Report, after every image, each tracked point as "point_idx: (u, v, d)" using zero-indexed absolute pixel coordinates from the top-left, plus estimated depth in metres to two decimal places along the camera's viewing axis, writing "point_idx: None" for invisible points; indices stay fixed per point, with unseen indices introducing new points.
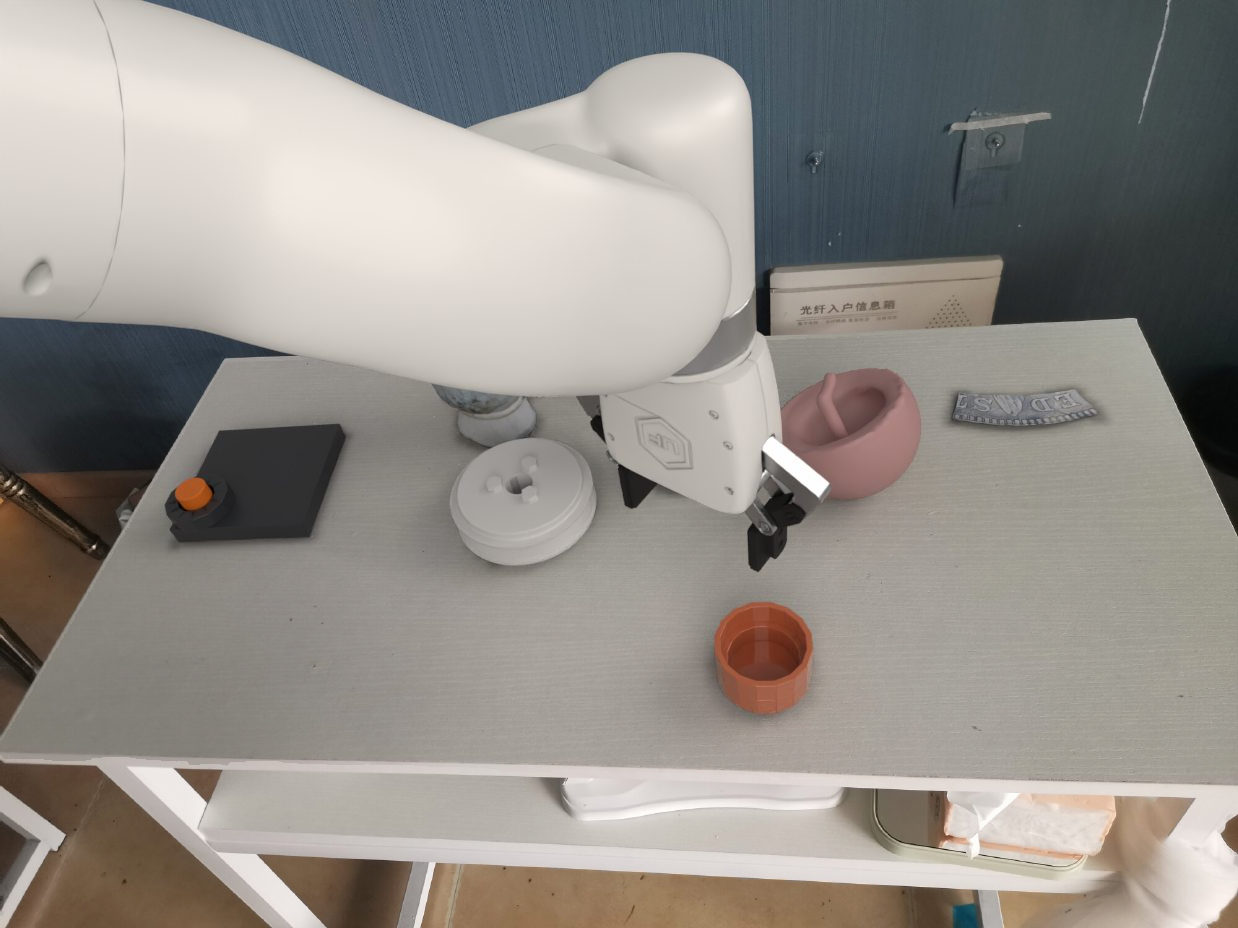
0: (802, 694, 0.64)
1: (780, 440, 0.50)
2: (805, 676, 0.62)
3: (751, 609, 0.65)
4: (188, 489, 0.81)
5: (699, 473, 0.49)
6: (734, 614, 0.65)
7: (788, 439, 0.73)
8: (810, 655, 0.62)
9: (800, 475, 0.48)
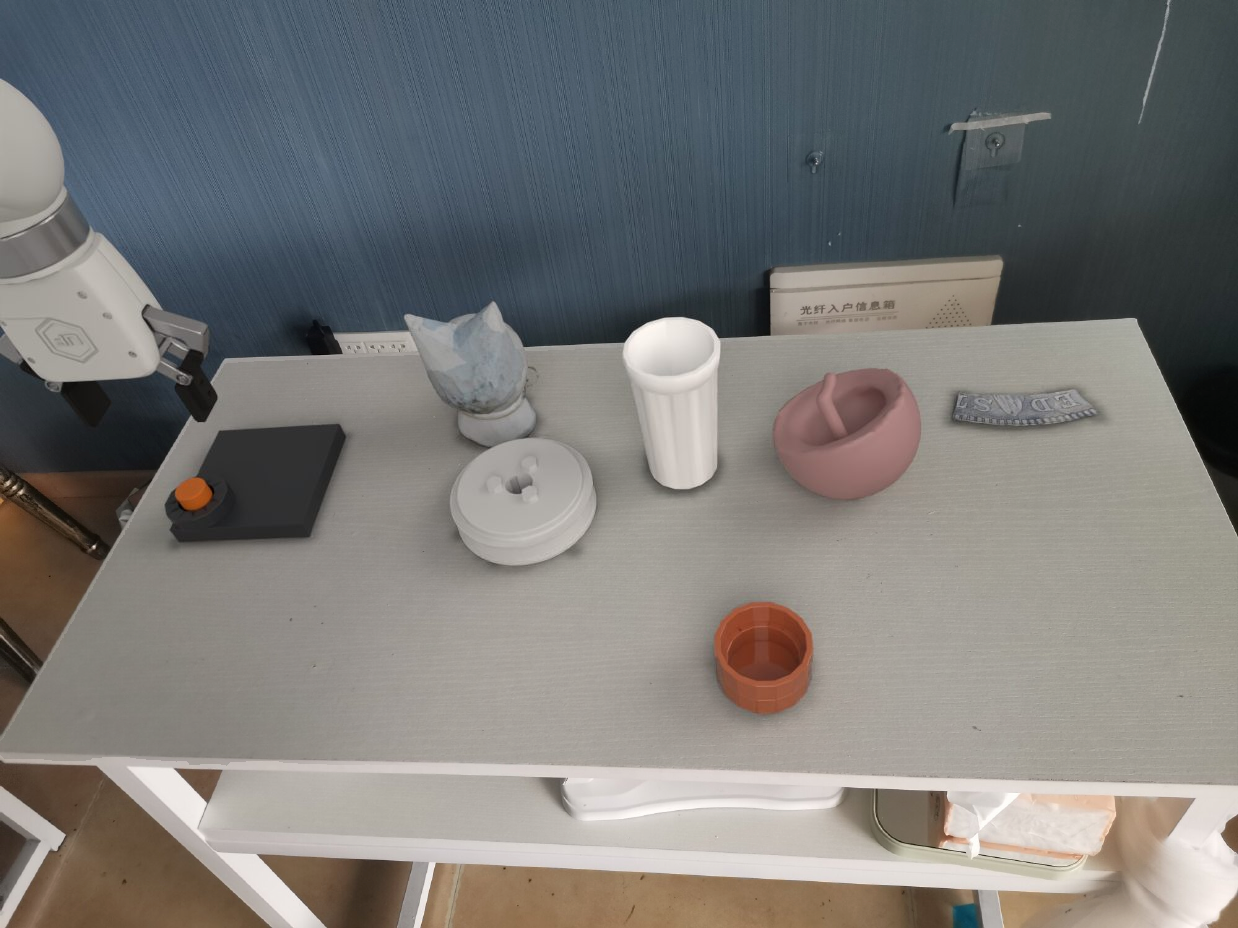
0: (802, 694, 0.64)
1: None
2: (805, 676, 0.62)
3: (751, 609, 0.65)
4: (188, 489, 0.81)
5: (105, 351, 0.65)
6: (734, 614, 0.65)
7: (788, 439, 0.73)
8: (810, 655, 0.62)
9: (179, 324, 0.66)
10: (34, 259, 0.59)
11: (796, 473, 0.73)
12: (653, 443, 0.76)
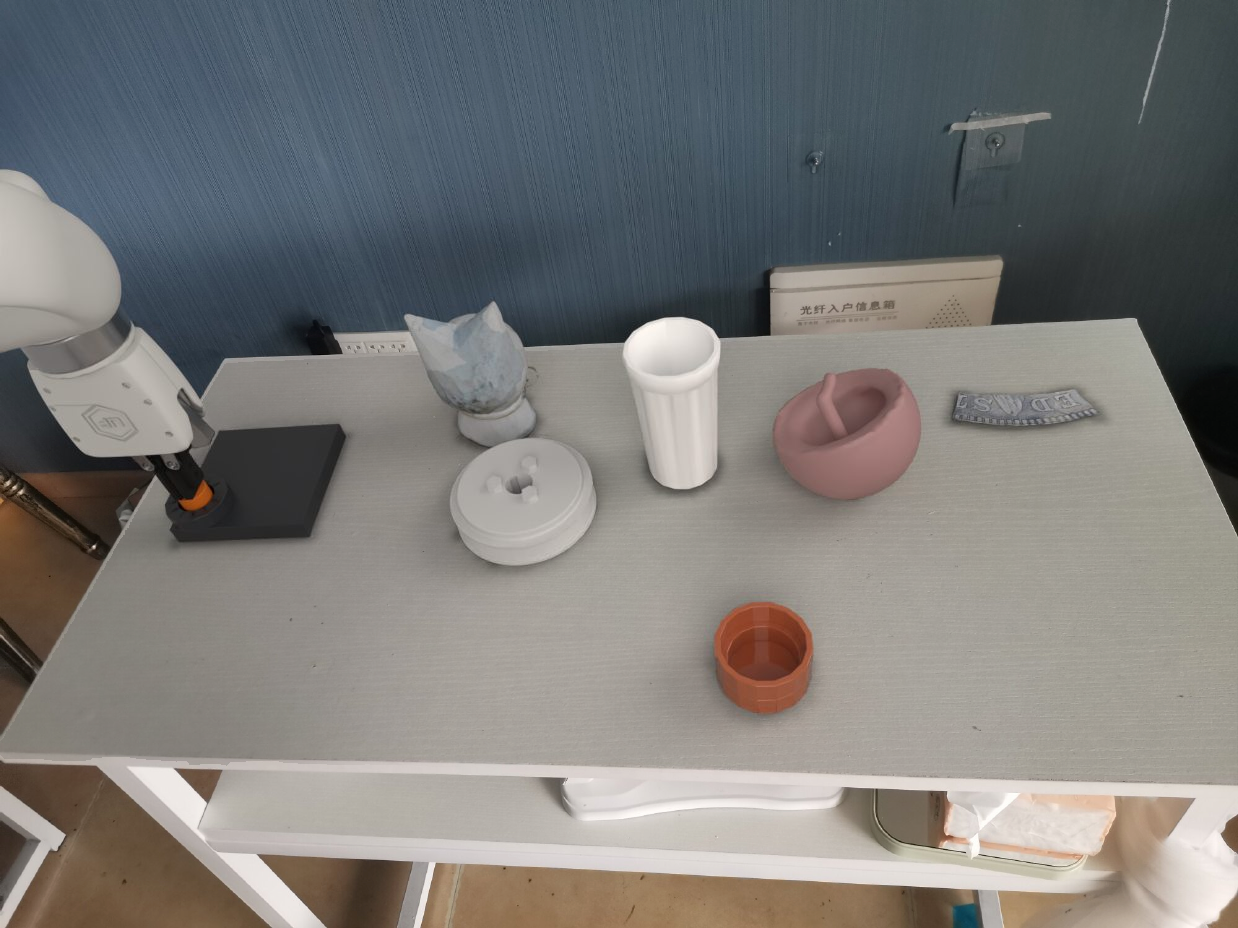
0: (802, 694, 0.64)
1: (193, 392, 0.74)
2: (805, 676, 0.62)
3: (751, 609, 0.65)
4: None
5: (144, 432, 0.72)
6: (734, 614, 0.65)
7: (788, 439, 0.73)
8: (810, 655, 0.62)
9: (199, 426, 0.75)
10: (85, 357, 0.66)
11: (796, 473, 0.73)
12: (653, 443, 0.76)
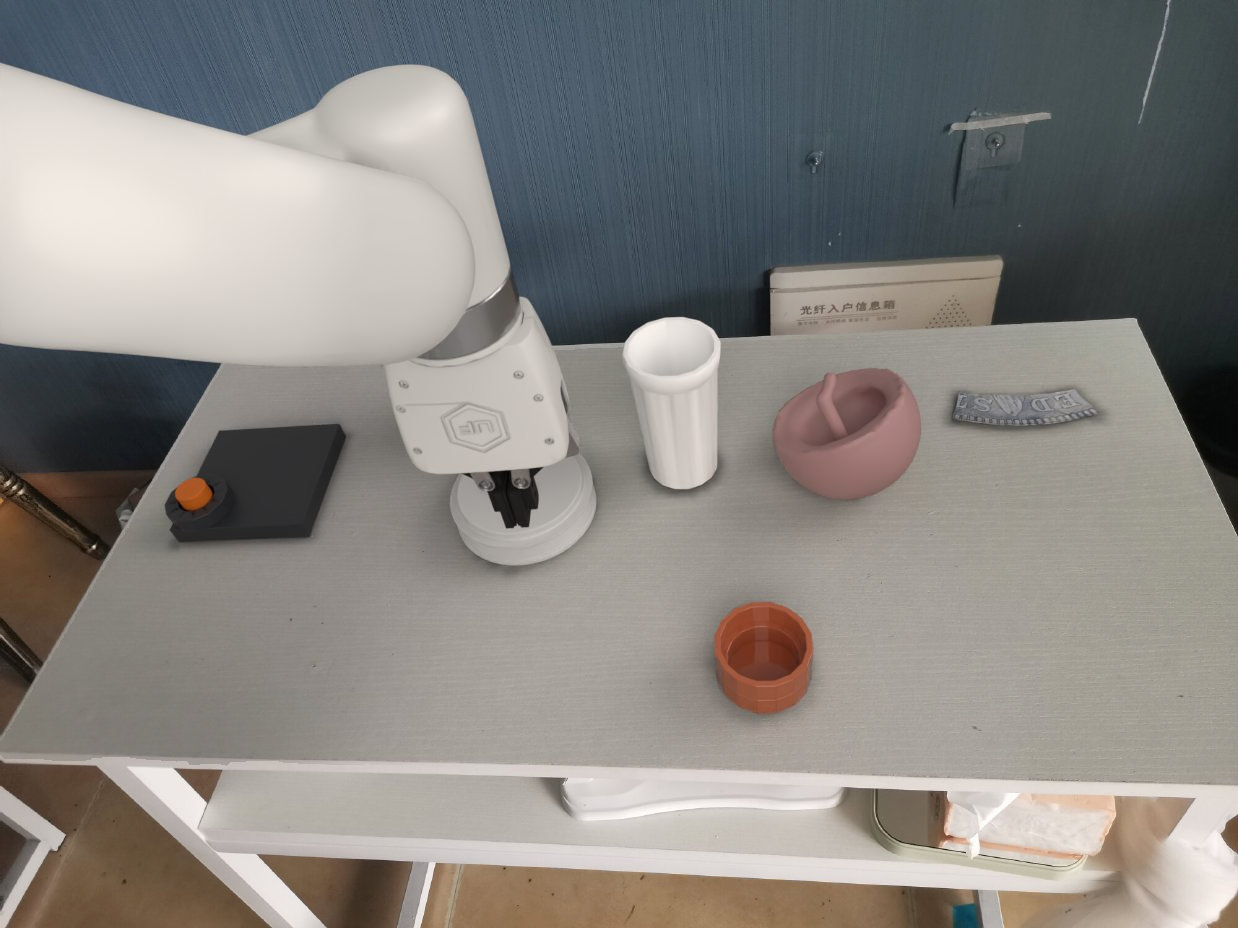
0: (802, 694, 0.64)
1: (565, 385, 0.56)
2: (805, 676, 0.62)
3: (751, 609, 0.65)
4: (188, 489, 0.81)
5: (518, 439, 0.53)
6: (734, 614, 0.65)
7: (788, 439, 0.73)
8: (810, 655, 0.62)
9: (570, 431, 0.56)
10: (483, 335, 0.47)
11: (796, 473, 0.73)
12: (653, 443, 0.76)
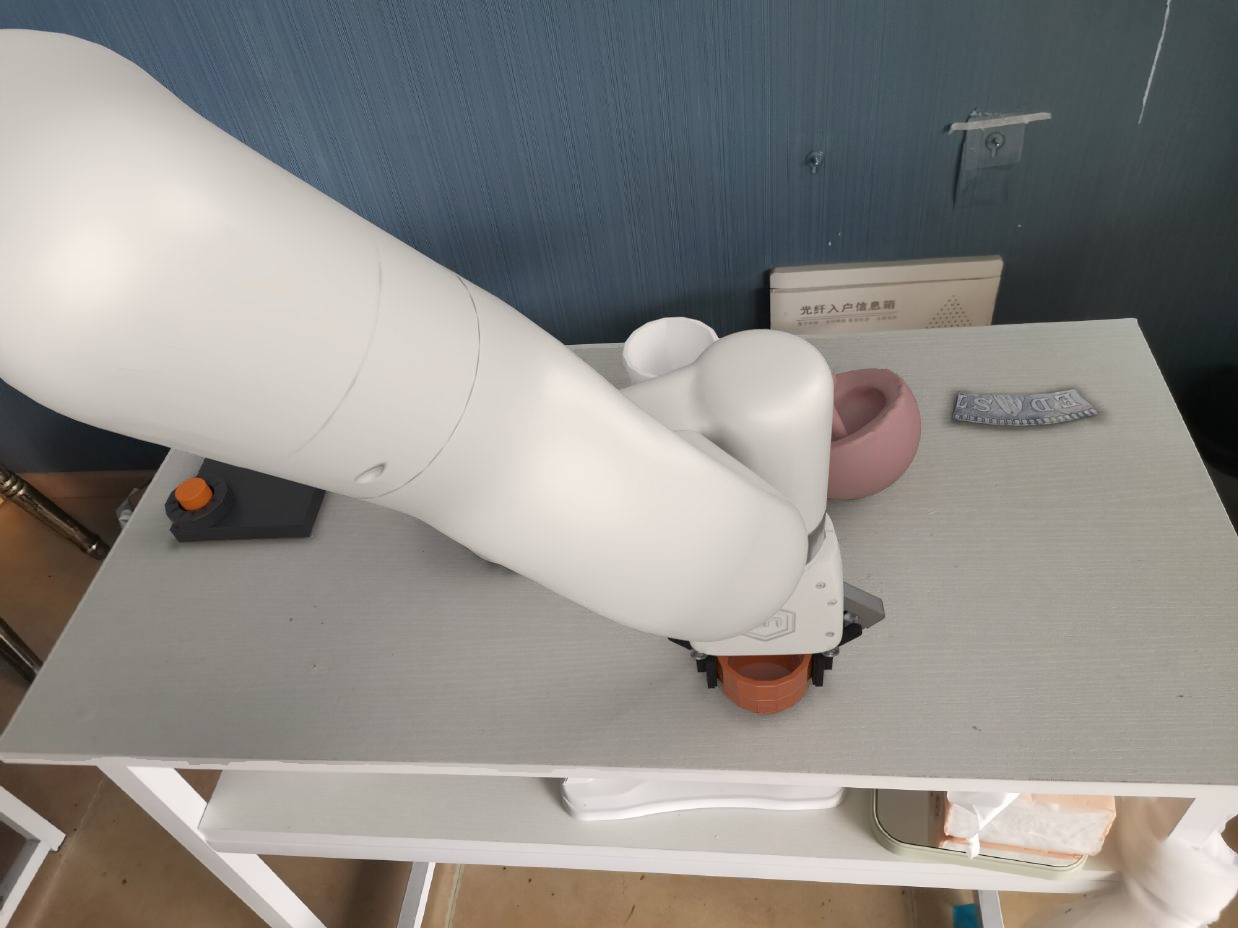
0: (802, 694, 0.64)
1: None
2: (805, 676, 0.62)
3: None
4: (188, 489, 0.81)
5: (801, 632, 0.57)
6: None
7: None
8: (810, 655, 0.62)
9: (867, 602, 0.58)
10: None
11: None
12: None
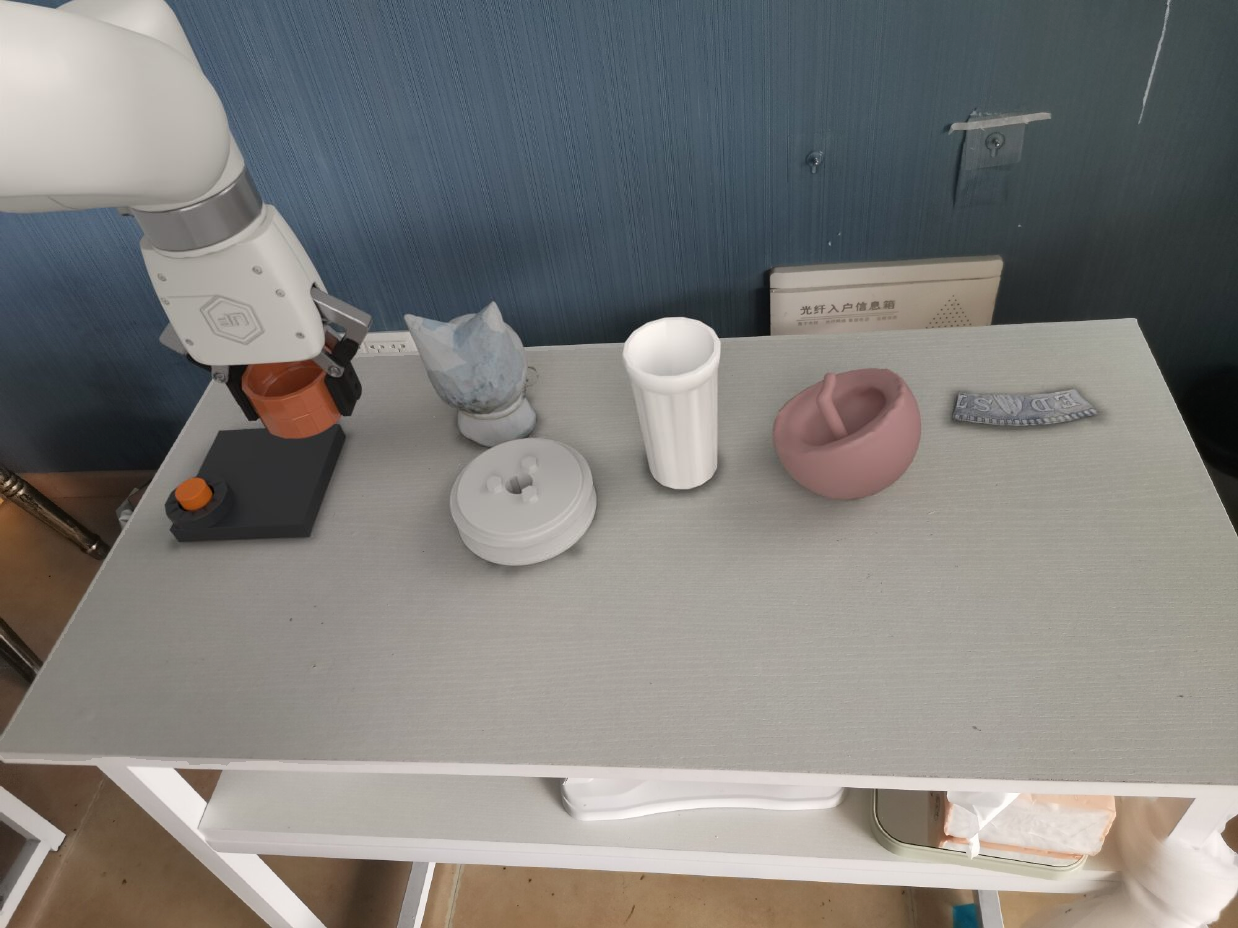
0: (328, 421, 0.68)
1: (324, 289, 0.63)
2: (319, 398, 0.66)
3: None
4: (188, 489, 0.81)
5: (271, 332, 0.61)
6: None
7: (788, 439, 0.73)
8: (322, 377, 0.66)
9: (347, 312, 0.62)
10: (214, 231, 0.55)
11: (796, 473, 0.73)
12: (653, 443, 0.76)
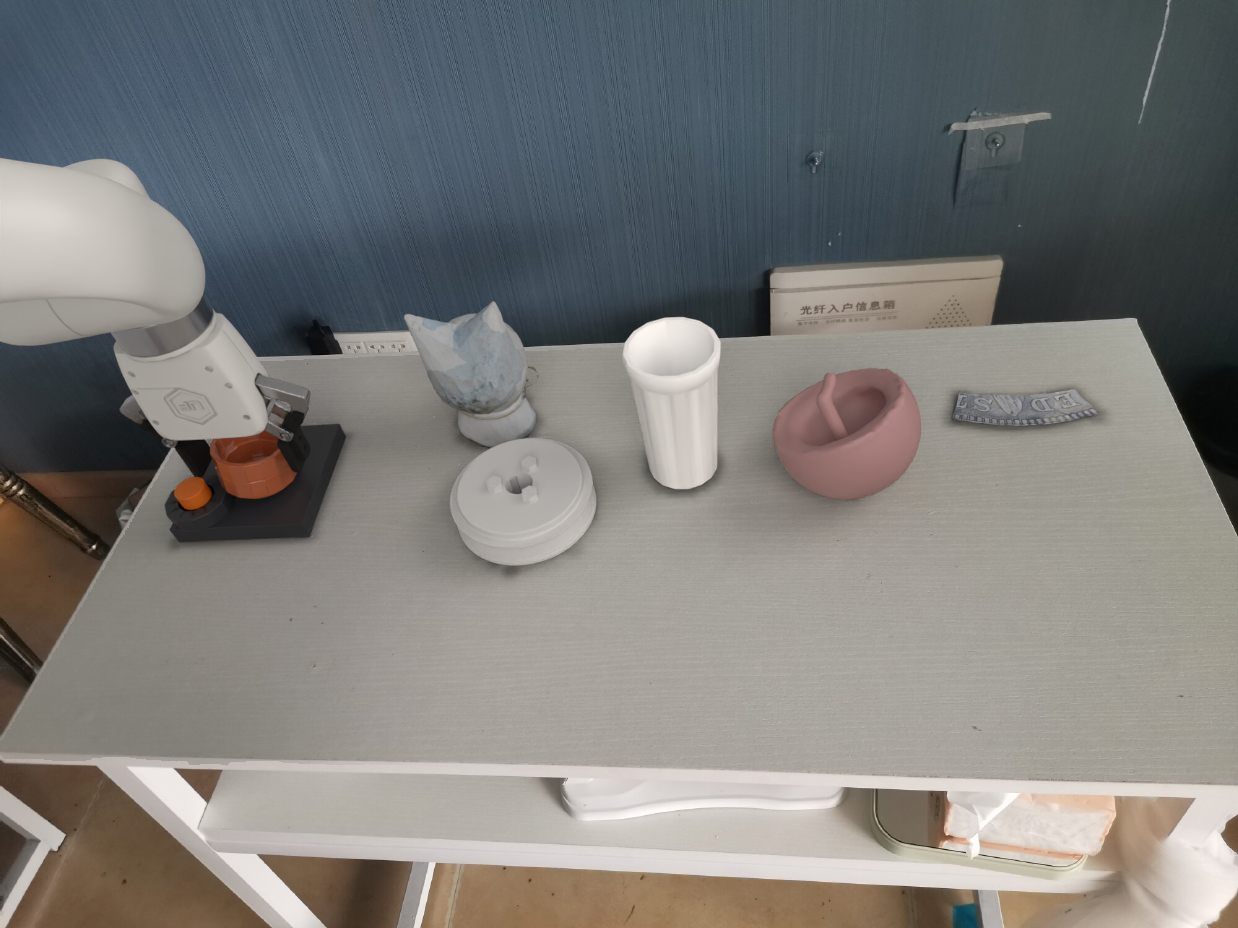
0: (278, 487, 0.82)
1: None
2: (275, 468, 0.81)
3: None
4: (187, 488, 0.81)
5: (223, 415, 0.74)
6: None
7: (788, 439, 0.73)
8: (280, 451, 0.80)
9: (286, 389, 0.75)
10: (172, 341, 0.68)
11: (796, 473, 0.73)
12: (653, 443, 0.76)
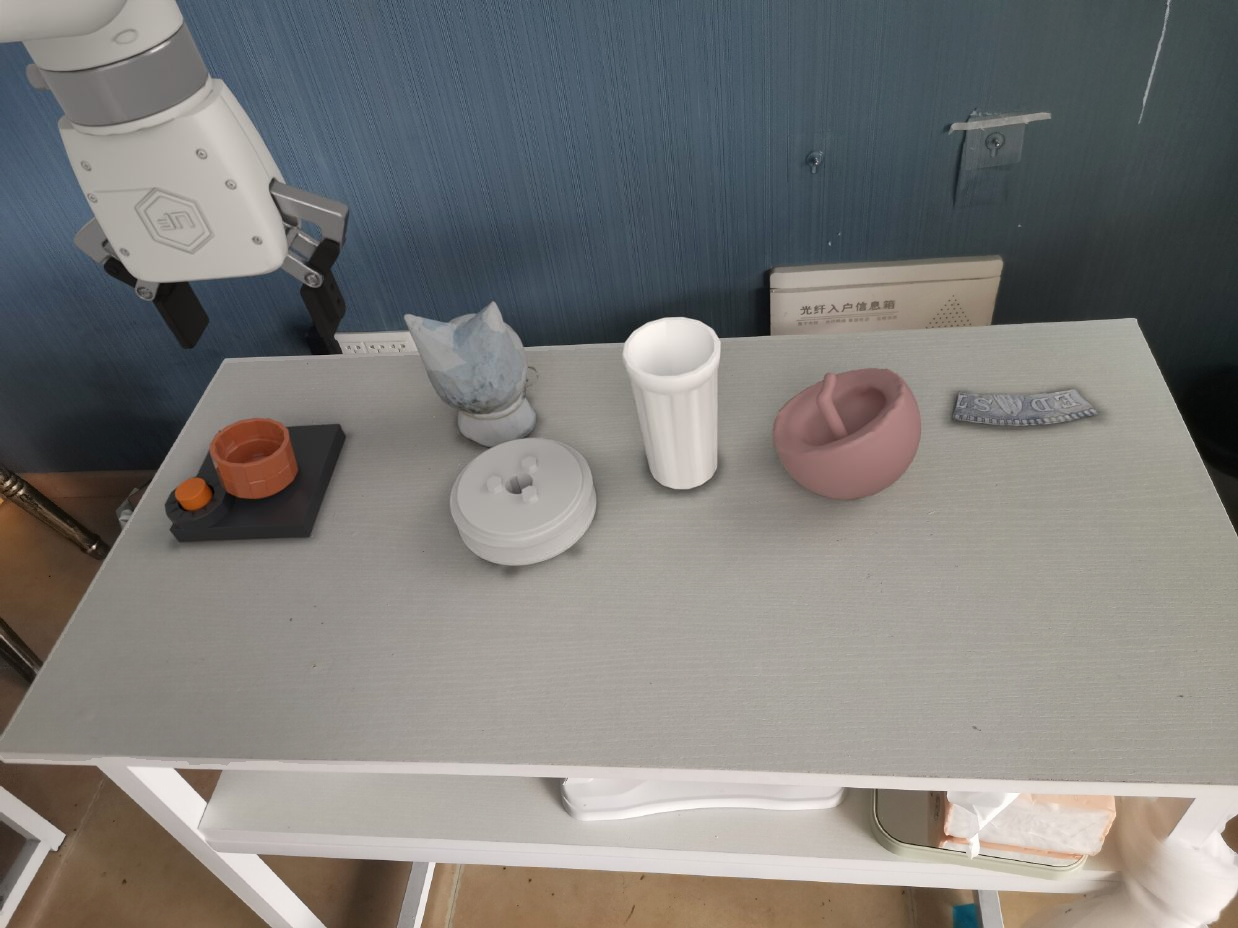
0: (278, 487, 0.82)
1: None
2: (275, 468, 0.81)
3: (254, 422, 0.84)
4: (188, 489, 0.81)
5: (222, 237, 0.50)
6: (238, 423, 0.83)
7: (788, 439, 0.73)
8: (280, 451, 0.80)
9: (314, 203, 0.51)
10: (145, 99, 0.44)
11: (796, 473, 0.73)
12: (653, 443, 0.76)
